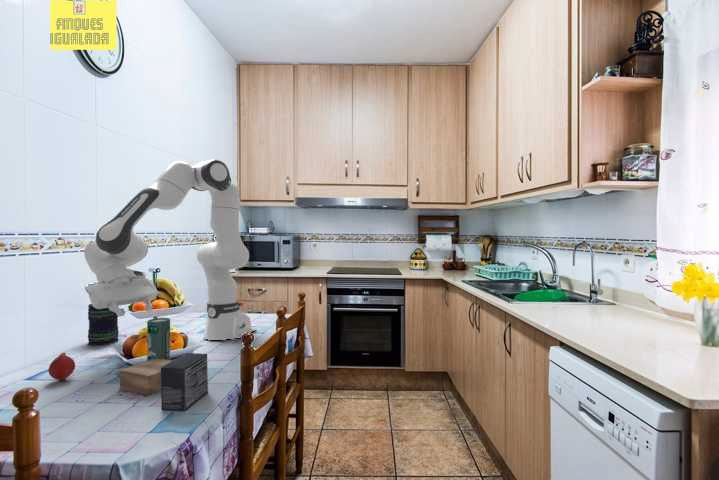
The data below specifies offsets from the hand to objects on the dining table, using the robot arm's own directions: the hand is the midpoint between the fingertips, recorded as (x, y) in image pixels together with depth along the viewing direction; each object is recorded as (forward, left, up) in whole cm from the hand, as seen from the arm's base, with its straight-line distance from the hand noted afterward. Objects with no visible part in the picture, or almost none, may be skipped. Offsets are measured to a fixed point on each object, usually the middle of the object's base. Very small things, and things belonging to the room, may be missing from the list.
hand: (136, 312), depth 117 cm
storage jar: (-12, -35, -17) cm, 41 cm away
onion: (+18, -6, -17) cm, 25 cm away
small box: (+14, +37, -17) cm, 43 cm away
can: (0, +10, -17) cm, 20 cm away
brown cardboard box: (+10, +20, -17) cm, 28 cm away
